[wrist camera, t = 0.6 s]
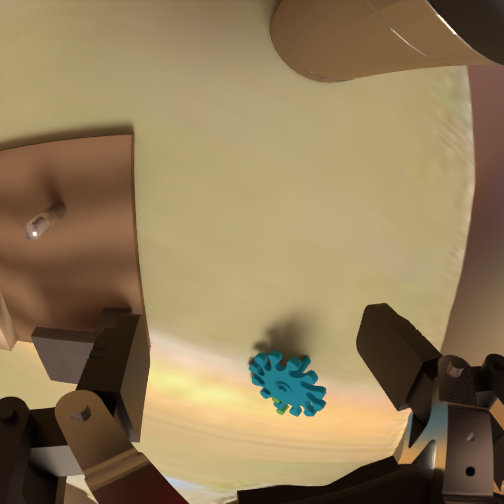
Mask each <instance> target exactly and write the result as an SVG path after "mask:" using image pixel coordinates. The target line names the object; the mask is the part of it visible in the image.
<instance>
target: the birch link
mask: <svg viewBox="0 0 504 504" xmlns="http://www.w3.org/2000/svg"><path fill="white" fill-rule="evenodd" d="M18 338H19V337H18V335H17V332H16V330H15V328H14V325H13V323H12V320H11V318H10V315H9V312H8V310H7V307H6V304H5V302H4V299H3V296H2V293H1V290H0V349H4V350H9V351H11V350H12V348H13V347H14V345H15V343H16V342H17V340H18Z"/></svg>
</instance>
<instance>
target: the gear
mask: <svg viewBox="0 0 504 504" xmlns="http://www.w3.org/2000/svg"><path fill="white" fill-rule="evenodd" d="M268 358H269V360H270V362H271V366H270V365H269V364H268V362H267V360H268ZM282 358H283V355H282V354H281V353H279V352H277V351H274V350H273V351H272V352H271V353H270V354H269V355H268V357H267V355H266V354H265V353H259V354H258V355H257V356H256V357H255V358H254V360H255V362H254V363H253V364H252V365H251V366H250V367H249V370H250V371H251V372H253V373H255V375H254V376H253V377H252V383H253V384H254V385H258V386H262V387H264V388H263V389H262V390H261V391H260V393H261V395H262V396H263V398H265V399H267V398H269V397H273V398H272V400H273V401H274V402H275V403H274V406H275V407H277V408H278V409H277V410H276V411H277V413H279V414H281V415H283V414H284V413H285V411H286V410H287V409H288V408H289V406H288V405H287V404H290V405H292V406H293V407H292V408H291V409H290V411H289V412H290V413H291V414H292V415H295V416H297V417H298V416H299V414H300V413H301V412H302V409H301V408H300V405H301V406H303V407H304V409H305V410H304V414H305V415H306V416H314V415H315V413H316V412H317V411H320V410H322V409H323V408H324V406H325V405H326V402H325V401H324V400H322V398H323V397H324V395H325V394H326V388H325V387H322V386H314V385H313V384H315V382H316V381H317V380H318V376H317V374H316V373H315V372H314V371H312V370H310V371H308V372H307V373H303V372H304V370H305V369H306V368H307V366H308V365H309V364H310V362H311V360H310V359H309V358H307V357H304V358H303V360H302V361H301V362H300V361H299V360H298V359H297V358H295V357H292V358H291V359H290V360H289V361H288V362H287V366H286V367H283V366H281V365H280V364H279V361H280V360H281V359H282ZM310 402H311V403H312V405H313V406H312V405H311V404H310Z"/></svg>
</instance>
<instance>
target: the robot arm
mask: <svg viewBox="0 0 504 504" xmlns="http://www.w3.org/2000/svg"><path fill="white" fill-rule="evenodd" d="M270 31H271V38H272V41H273V44H274V47H275V49H276V51H277V52H278V54H279V55H280V57H281V58H282V59H283V61H284V62H285V63H286V64H287V65H288V66H289V67H290V68H292V69H293V70H295V71H296V72H297V73H299V74H301V75H303V76H305V77H307V78H309V79H312V80H315V81H319V82H328V83H332V82H340V81H347V80H353V79H355V78H361V77H366V76H372V75H378V74H384V73H390V72H397V71H404V70H412V69H421V68H431V67H443V66H460V65H504V0H282V2H281V3H280V5H279V6H278V7H277V9H276V10H275V11H274V14H273V17H272V19H271V27H270ZM356 346H357V350H358V353H359V354H360V356H361V357H362V359H363V360H364V362H365V363H366V365H367V366H368V368H369V369H370V371H371V372H372V374H373V375H374V377H375V378H376V379H377V381H378V382H379V384H380V385H381V387H382V388H383V390H384V391H385V393H386V394H387V396H388V397H389V399H390V400H391V402H392V403H393V405H394V406H395V408H396V410H397V411H401V410H404V409H407V408H411V410H412V411H411V413H410V414H409V417H408V423H407V430H406V436H405V442H404V447H403V452H402V456H401V459H400V461H399V463H397V462H396V460H395V458H394V456H390V457H388V458H385V459H382V460H379V461H377V462H374V463H371V464H368V465H365V466H361V467H359V468H358V469H356V470H354V471H353V472H351V473H349V474H347V475H346V476H344V477H342V478H340V479H338V480H336V481H335V482H333V483H331V484H329V485H325V486H274V487H267V488H259V489H251V490H240V491H237V500H234V501H231V502H228V503H226V504H504V430H503V429H502V427H501V426H500V425H499V423H498V422H497V421H496V419H495V418H494V417H493V415H492V414H491V413H490V411H489V410H490V408H491V407H492V406H493V404H494V403H495V401H496V400H497V398H498V399H499V400H500V401H501V402H502V403H503V405H504V357H503V356H501V355H499V354H490V355H488V356H487V357H486V359H485V361H484V363H483V364H482V366H474V367H471V366H470V365H469V364H468V363H467V362H466V361H465V360H464V359H462V358H460V357H458V356H455V355H445V356H443V355H442V354H441V353H440V352H439V351H438V350H437V349H436V348H435V347H434V346H433V345H432V344H431V343H430V342H429V341H428V340H427V339H426V338H425V337H424V336H422V334H421V333H420V332H419V331H418V330H416V328H415V327H414V326H413V325H412V324H411V323H410V322H409V321H408V320H407V319H405V318H403V317H402V316H400V315H398V314H397V313H396V312H395V311H394V310H393V309H392V308H391V307H390V306H389V305H388V304H386V303H381V304H372V305H367V306H366V308H365V310H364V313H363V317H362V321H361V325H360V328H359V332H358V335H357V340H356ZM92 348H93V349H91V352H90V354H89V358H88V359H87V362H86V364H85V367H84V369H83V372H82V374H81V377H80V380H79V382H78V385H77V388H76V390H75V391H72V392H69V393H67V394H65V395H64V396H63V397H61V398H60V400H59V401H58V402H57V404H56V407H53V408H45V409H34V410H29V408H28V406H27V405H26V403H25V402H24V401H23V400H21V399H20V398H17V397H5V398H2V399H0V504H64V494H65V486H66V479H67V476H73V475H83V474H84V475H85V477H86V478H85V482H86V484H87V486H88V487H89V489H90V491H91V492H92V494H93V496H94V497H95V499H96V500H97V502H98V503H99V504H189V503H188V502H187V501H186V500H185V499H184V498H183V497H182V496H181V495H180V494H179V493H178V492H177V491H176V490H175V489H174V488H173V487H172V485H171V484H170V483H169V482H168V481H167V480H166V479H165V478H164V477H163V476H162V475H161V473H160V472H159V471H158V470H157V469H156V468H155V466H154V465H153V464H152V463H151V462H150V461H149V459H148V458H147V457H146V456H145V455H144V454H143V453H141V452H140V453H139V452H138V451H137V450H136V448H135V447H134V446H133V445H132V443H131V442H139V443H140V434H141V425H142V417H143V409H144V401H145V394H146V387H147V381H148V374H149V368H150V353H149V347H148V341H147V335H146V329H145V323H144V318H143V315H142V314H120V316H119V318H118V321H117V323H116V326H115V328H106V329H105V330H104V331H103V332H101V333H100V334H99V335H98V336H97V338H96V340H95V342H94V345H93V347H92ZM493 480H494V481H495V483H496V485H497V486H498V488H499V490H500V493H499V494H498V493H495V492H493Z"/></svg>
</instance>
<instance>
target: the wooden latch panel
mask: <svg viewBox="0 0 504 504" xmlns="http://www.w3.org/2000/svg"><path fill="white" fill-rule="evenodd" d="M0 290H1V293H2V296H3V299H4V302H5V304H6V307H7V310H8V312H9V315H10V318H11V320H12V323H13V325H14V328H15V330H16V332H17V335H18V337H19V338H18V341H24V342H30V343H33V341H32V339H31V334H32V333H33V331H34V329H35V328H36V326H37V327H46V328H55V329H65V330H76V331H89V332H94V330H95V328H96V325H97V323H98V321H99V318H100V316H101V313H102V311H103V309H104V308H128V309H132V311H133V314H142V315H143V318H144V323H145V329H146V335H147V341H148V347H149V353H150V347H151V345H150V339H149V333H148V327H147V321H146V314H145V307H144V300H143V292H142V284H141V275H140V266H139V256H138V244H137V231H136V214H135V191H134V134H123V135H108V136H96V137H86V138H76V139H68V140H60V141H53V142H46V143H39V144H33V145H27V146H21V147H16V148H11V149H6V150H1V151H0Z"/></svg>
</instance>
